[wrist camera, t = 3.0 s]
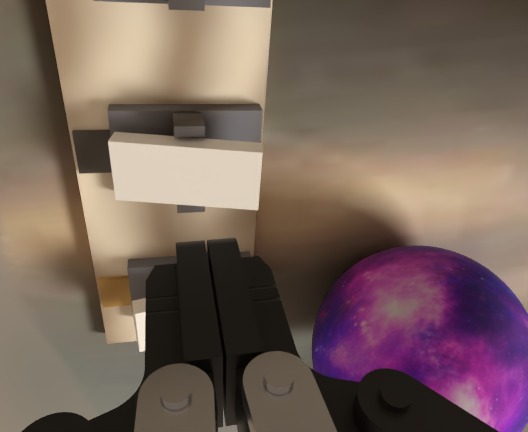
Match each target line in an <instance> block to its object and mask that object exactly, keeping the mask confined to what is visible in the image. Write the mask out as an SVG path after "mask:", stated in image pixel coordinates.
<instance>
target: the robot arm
mask: <svg viewBox="0 0 528 432" xmlns="http://www.w3.org/2000/svg"><path fill="white" fill-rule="evenodd" d="M176 258H177V263H175V264H164V265H155V266H154V268H153V269H152V271H151V273H150V274H149V276H148V278H147V280H146V307H145V313H146V316H145V372H144V377H143V380H142V382H141V384H140V386H139V388H138V389H137V391H136V392H135V393H134V394H133V396H132V397H131V398H129V399H128V400H127V401H126V402H125V403H123V404H122V405H120V406H119V407H117V408H115V409H113V410H111V411H109V412H107V413H104V414H102V415H100V416H98V417H96V418H93V419H91V420H89V421H88V420H87V419H85V418H84V417H83V416H81V415H78V414H75V413H69V412H61V413H54V414H51V415H47V416H45V417H42V418H40V419H39V420H37V421H35V422H33V423H32V424H30V425H29V426H28V427H26V428H25V429H24V430H23V431H22V432H218V427H223V409H224V416H225V424H226V426H230V425H236V424H237V429H238V432H499V431H497V430H496V429H494V428H492V427H491V426H489V425H488V424H486V423H484V422H483V421H481V420H480V419H478V418H477V417H475V416H473V415H472V414H470V413H469V412H467V411H465V410H464V409H462V408H461V407H459V406H458V405H456V404H454V403H453V402H451V401H450V400H448V399H446V398H445V397H443V396H442V395H440V394H439V393H437V392H435V391H434V390H432V389H431V388H429V387H427V386H426V385H424V384H423V383H421V382H420V381H418V380H416V379H415V378H413V377H412V376H410V375H408V374H406V373H404V372H402V371H399V370H395V369H389V368H381V369H375V370H373V371H370V372H369V373H367V374H366V375H365V376H364V377H363V378H362V379H361V381H360V382H356V381H350V380H344V379H337V378H332V377H328V376H325V375H322V374H320V373H318V372H316V371H314V370H313V369H311V368H310V367H309V366H308V365H307V364H306V363H305V362H304V361H303V360H302V359H301V358H300V356H299V354H298V352H297V350H296V347H295V344H294V341H293V338H292V335H291V331H290V328H289V325H288V322H287V319H286V316H285V312H284V309H283V306H282V303H281V301H280V296H279V293H278V290H277V288H276V284H275V281H274V277H273V274H272V271H271V269H270V268H269V267H268V266H267V265H266V263H265V262H264V261H263V260H262V259H261V258H260V257H259V256H253V257H242V258H241V255H240V251H239V246H238V242H237V239H236V238H225V239H212V240H207V250H206V244H205V240H201V241H189V242H176Z"/></svg>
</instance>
